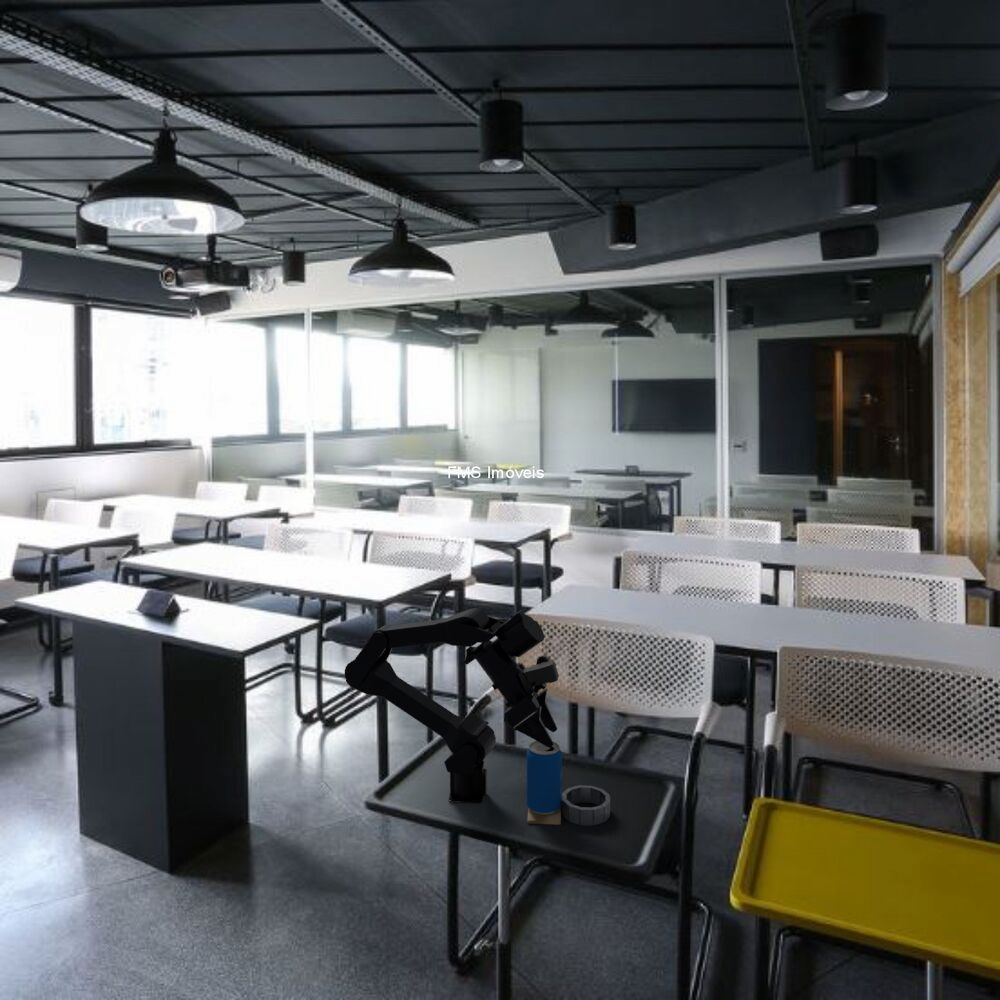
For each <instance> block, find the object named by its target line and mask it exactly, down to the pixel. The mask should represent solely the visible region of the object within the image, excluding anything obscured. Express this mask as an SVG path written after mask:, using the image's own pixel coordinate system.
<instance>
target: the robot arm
mask: <svg viewBox="0 0 1000 1000" xmlns="http://www.w3.org/2000/svg"><path fill="white" fill-rule="evenodd" d="M494 637H496V639H495V640H493V638H494ZM544 640H545V633H544V631H543V629H542V627H541V625H540V624H539V622H538V621H537V620H535V619H534V618H533V617H532V616H530V615H528V614H525V612H524V611H523V610H519V611H518V612H517V613H516V614H514V615H513V616H511V618H510V619H509V620H507V621H505V620H501V619H498V618H495V617H493V616H491V615H487V613H486V612H484V610H483V609H481V608H478V607H473V608H469V609H467V610H464V611H461V612H458V613H454V614H453V615H450V616H448V617H444V618H441V619H433V620H426V621H425V620H424V621H418V622H410V623H403V624H402V623H401V624H395V625H390V624H385V625H382V626H381V627H380V628H377V629H376V630H375V631H373V633H372V635H371V637H370V638H369V640H368V641H367V643H366V644H365V645H364V647H363V648H362V649H361V650H360V652H359V653H358V654H357V655H356V657H355V658H354V659H353V660H351V661H350V662H349V663H347V665H346V666H345V669H344V677H345V682H346V683H347V685H348V686H349V687H350V688H352V689H354V690H356V691H358V692H361V693H363V694H364V695H369V696H375V697H381V698H383V699H385V700H386V701H387V702H389V703H391V704H392V705H393V706H395V707H397V708H398V709H399V710H401V711H403V712H404V713H406V714H407V715H408V716H410V717H412V718H413V719H415V720H416V721H417V722H419V723H421V725H423V726H425V727H426V728H428V729H429V730H430V731H432V732H434V733H435V734H437V736H440V737H441V738H442V739H443V741H444V742H445V744H446V746H447V748H448V750H449V751H450V752H451V754H450V755H449V756H448V757H447V758H446V760H445V761H444V766H445V768H446V771H447V773H449V791H450V792H449V795H448V801H449V800H451V801H460V802H459V803H472V804H473V803H475V804H480V803H483V802H484V801H483V800H484V796H486V794H487V791H488V770H487V768H485V758H486V757H487V756H488V755H489V754H490V752H491V751H492V750H493V749H494V747H495V746H496V743H497V740H496V739H497V738H496V734H495V731H494V729H493V728H492V727H491V726H490V725H489V723H490V722H489V721H486V720H483V719H481V718H480V717H479V716H477V715H476V713H473V712H472V711H471V712H469V713H468V714H467V715H466V716H459V715H457V714H455V713H454V712H452V711H450V710H449V709H448V708H446V707H445V706H443V705H441V704H440V703H438V702H437V701H436V700H434V699H432V698H431V697H429V696H428V695H426V694H424V693H423V692H421V691H420V690H419V689H417V688H416V687H414V686H412V685H411V684H409V683H408V682H407V681H405V680H404V679H402V678H401V677H399V676H398V675H397V673H396V672H395V670H394V668H393V666H392V665H391V663H390V662H389V661H388V659H389V657H390V655H391V653H392V651H393V648H403V647H411V646H420V645H429V644H437V643H440V644H441V643H442V644H446V645H449V646H453V647H466V649H465V660H464V664H465V665H469V664H471V663H472V662H473V661H476V662H477V663H478V665H479V666H480V667H481V668H482V670H483V671H484V672H485V674H486V675H487V677H488V678H489V679H490V681H491V682H492V684H491V687H492V688H493V690H494V691H496V690H497V691H499V693H500V695H501V696H502V697H503V699H505V706H506V710H505V712H504V716H503V722H504V723H505V725H506V726H507V727H508V728H509V730H510V729H512V730H513V731H517V732H519V733H521V734H523V735H525V736H527V737H528V738H531V739H533V740H534V741H538V742H540V743H541V744H543V745H545V746H547V747H548V748H550V747H551V746H553V744H554V743H553V742H554V741H553V739H552V738H551V735H550V734H549V732H548V731H550V732H551V733H555V732H556V731H557V730H558V726H557V725H556V722H555V720H554V717H553V714H552V713H551V711H550V708H549V706H548V704H547V695H548V688H547V684H552V683H555V682H558V680H559V678H560V674H559V672H558V669H557V663H556V661H555V660H554V659H553V658H552V659H550V658H549V657H548V656H547V655H546V654H544V655H540V656H537V659H536V663H535V664H532V665H531V666H527V667H526V666H525V665H524V664H523V663H522V662H521V663H520V662H517V661H516V660H515V658H514V657H516V658H521V657H522V656H523V655H525V654H526V653H527V652H529V651H531V650H532V649H534V648H535V647H537V646H538V645H539V644H541V643H542V642H543V641H544ZM476 644H478V645H477V646H474V645H476ZM541 690H542V691H541Z"/></svg>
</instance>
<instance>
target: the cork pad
mask: <svg viewBox="0 0 1000 1000" xmlns="http://www.w3.org/2000/svg"><path fill="white" fill-rule="evenodd" d="M527 808H528V807H527ZM561 821H562V806H561V807H560V809H558V810H557V811H556V812H554V813H552V814H549V815H541V814H537V813H534V812H533V811H532V810H530V809H529V808H528V809H527V819H526V822H527V823H526V824H530V825H531V824H535V825H559V826H560V825H562V823H561Z"/></svg>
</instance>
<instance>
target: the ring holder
mask: <svg viewBox="0 0 1000 1000" xmlns="http://www.w3.org/2000/svg"><path fill="white" fill-rule="evenodd" d="M579 803H586V804H587V803H590V804H593V805H596V806H593V807H587V806H586V807H585V806H584V807H583V806H578V805H575V804H579ZM561 817H563V818H565V820H566V821H568V822H570V823H573V824H576V825H578V826H590V827H591V826H597V825H601V824H604V823H605V822H606V821H607V820H608V819H610V817H611V796H610V794H609V793H608V792H607V791H606V790H604V789H603V788H600V787H597V786H595V785H594V786H593V785H582V784H581V785H575V786H570V787H568V788H567V789H565V790H564V791H562V796H561Z"/></svg>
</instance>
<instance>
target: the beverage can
mask: <svg viewBox="0 0 1000 1000" xmlns="http://www.w3.org/2000/svg"><path fill="white" fill-rule="evenodd" d="M553 743H554V744H553V746H551V747H550V748H548V747H547V746H545V745H543V744H541V743H540V742H538V741H536V740H534V741H533V742H531V743H530V744H529V745H528V749H527V751H526V793H525V794H526V797H525V798H526V806H527V808H529V809H530V810H532V811H533V812H534V813H537V814H541V815H549V814H552V813H554V812H556V811H557V810H558V809H560V807H561V808H562V793H563V791H562V789H563V788H562V787H563V786H562V783H563V782H562V781H563V780H562V779H563V777H562V775H563V773H562V772H563V770H562V769H563V768H562V767H563V763H562V762H563V761H562V760H563V753H562V750H561V749H560V744H558V742H555V741H553Z"/></svg>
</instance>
